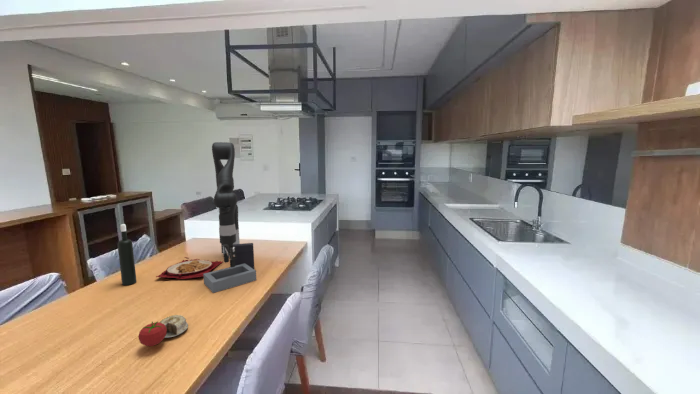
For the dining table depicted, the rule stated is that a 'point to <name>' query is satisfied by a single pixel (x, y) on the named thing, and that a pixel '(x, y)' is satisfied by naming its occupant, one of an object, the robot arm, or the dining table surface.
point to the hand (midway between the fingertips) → (229, 264)
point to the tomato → (152, 334)
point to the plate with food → (189, 269)
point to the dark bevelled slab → (244, 254)
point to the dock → (229, 277)
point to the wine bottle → (126, 258)
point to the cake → (174, 325)
